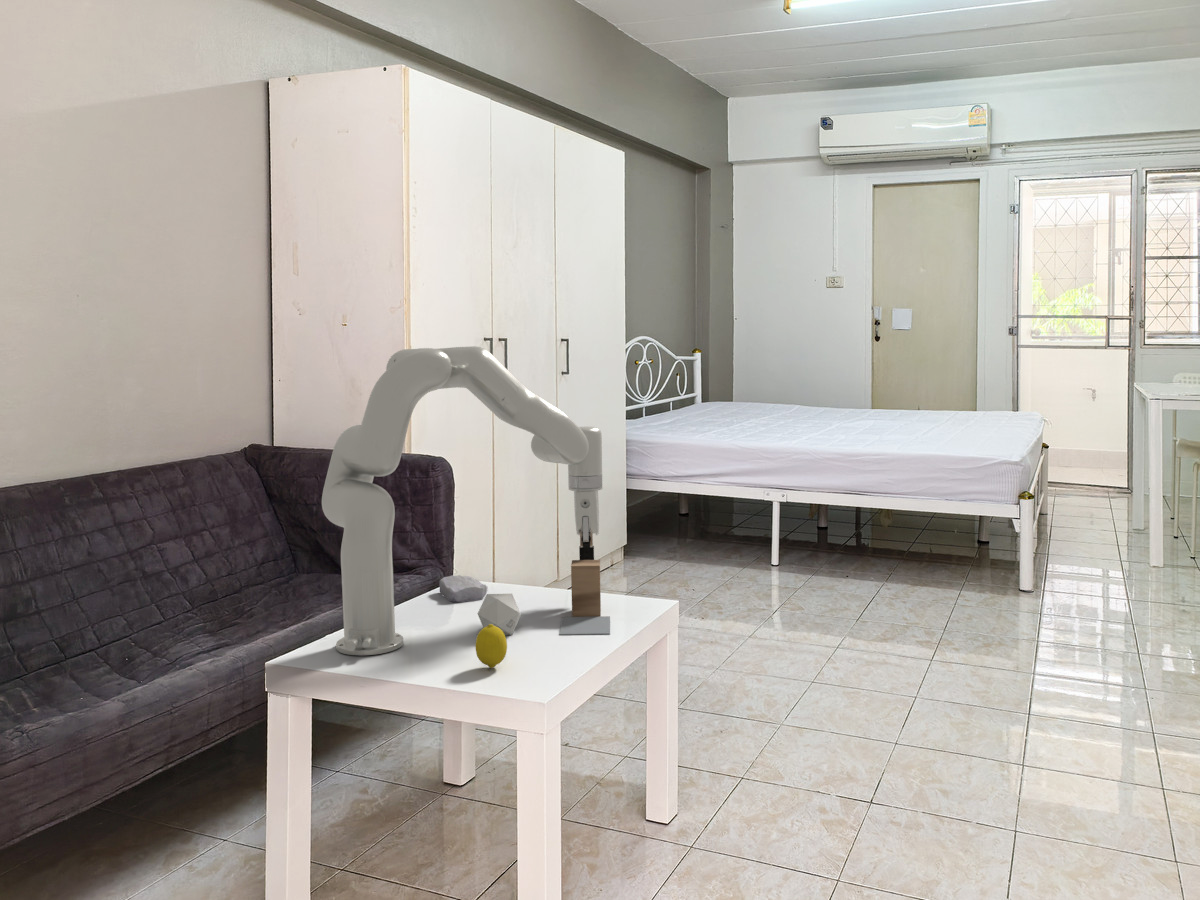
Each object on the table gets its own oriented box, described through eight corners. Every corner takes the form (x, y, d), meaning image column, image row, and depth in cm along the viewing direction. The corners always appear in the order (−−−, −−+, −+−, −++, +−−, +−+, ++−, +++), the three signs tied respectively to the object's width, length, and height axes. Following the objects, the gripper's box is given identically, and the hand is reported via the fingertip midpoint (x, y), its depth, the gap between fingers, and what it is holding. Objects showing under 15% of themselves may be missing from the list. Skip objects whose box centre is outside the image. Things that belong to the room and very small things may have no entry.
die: (503, 645, 188) (529, 602, 190) (465, 622, 189) (492, 579, 191) (506, 648, 196) (531, 606, 198) (470, 626, 197) (495, 585, 199)
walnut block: (600, 617, 205) (599, 565, 204) (572, 617, 205) (571, 566, 204) (600, 609, 211) (599, 559, 210) (573, 609, 211) (572, 559, 210)
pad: (610, 634, 192) (610, 633, 192) (559, 635, 192) (559, 634, 192) (610, 617, 204) (610, 616, 204) (562, 617, 204) (562, 616, 204)
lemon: (508, 662, 175) (507, 619, 174) (506, 673, 170) (505, 628, 169) (477, 663, 175) (476, 620, 174) (474, 673, 169) (473, 629, 169)
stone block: (475, 595, 233) (435, 592, 228) (478, 576, 233) (438, 572, 228) (491, 609, 222) (449, 605, 218) (495, 588, 222) (453, 584, 217)
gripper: (602, 487, 208) (603, 571, 209) (602, 478, 223) (603, 557, 224) (567, 487, 208) (568, 571, 210) (569, 478, 223) (571, 557, 224)
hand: (586, 564), depth 217 cm, fingers closed
